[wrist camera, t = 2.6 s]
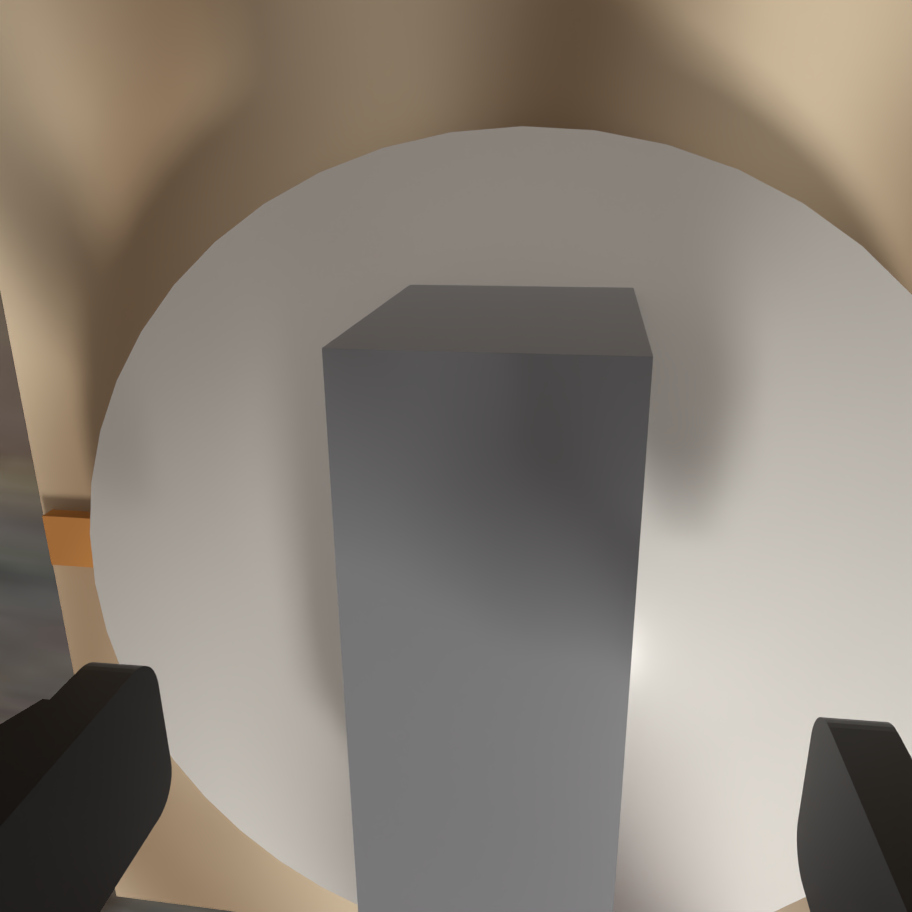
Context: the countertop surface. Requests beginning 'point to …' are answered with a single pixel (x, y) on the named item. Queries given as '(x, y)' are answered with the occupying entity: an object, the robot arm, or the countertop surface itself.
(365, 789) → the dial
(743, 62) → the dial base
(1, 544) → the countertop surface
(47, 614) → the countertop surface
